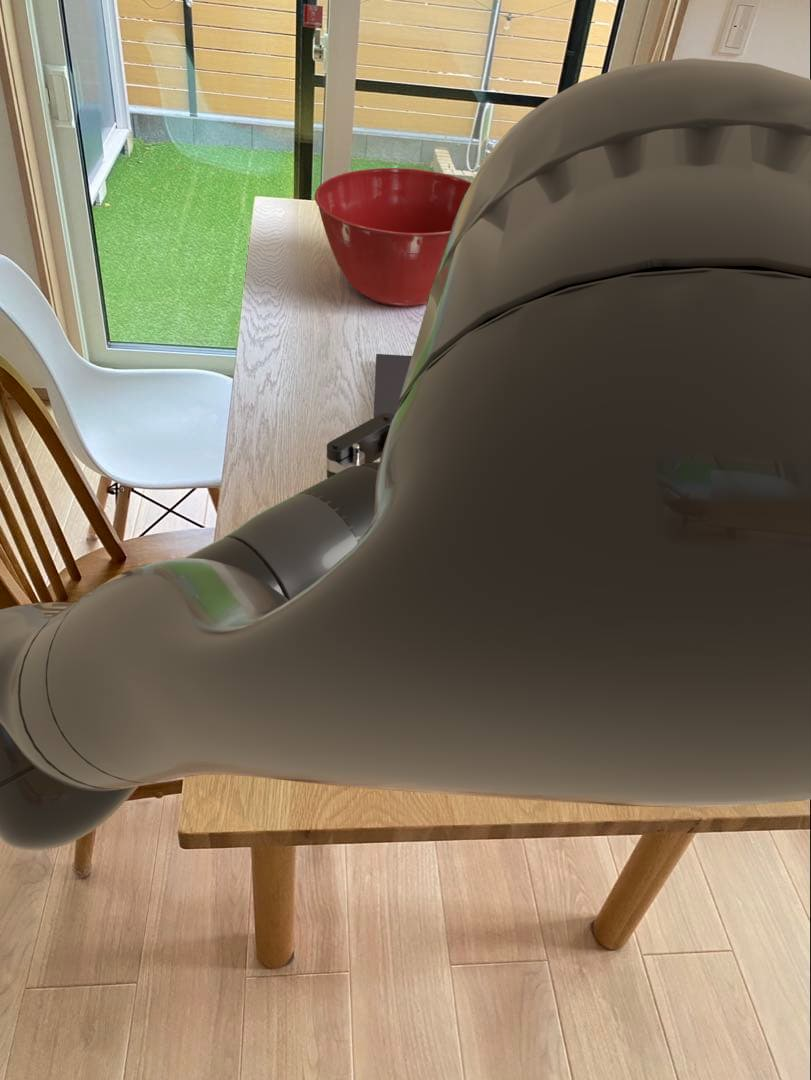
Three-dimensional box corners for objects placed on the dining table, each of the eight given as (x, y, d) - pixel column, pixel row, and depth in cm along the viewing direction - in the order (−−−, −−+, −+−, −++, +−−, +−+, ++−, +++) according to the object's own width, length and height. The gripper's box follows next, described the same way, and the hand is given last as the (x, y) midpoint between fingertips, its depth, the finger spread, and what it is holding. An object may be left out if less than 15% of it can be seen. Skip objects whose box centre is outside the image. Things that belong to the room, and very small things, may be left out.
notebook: (375, 362, 115) (372, 448, 99) (376, 353, 114) (372, 438, 98) (461, 368, 116) (471, 453, 100) (463, 358, 114) (473, 443, 99)
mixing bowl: (330, 333, 120) (331, 233, 110) (304, 257, 141) (302, 166, 130) (503, 325, 127) (519, 229, 116) (454, 252, 147) (464, 165, 136)
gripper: (417, 578, 38) (608, 452, 47) (241, 444, 45) (436, 356, 54) (406, 674, 43) (580, 544, 52) (249, 540, 50) (426, 446, 59)
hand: (506, 448), depth 53 cm, fingers open, 8 cm apart
